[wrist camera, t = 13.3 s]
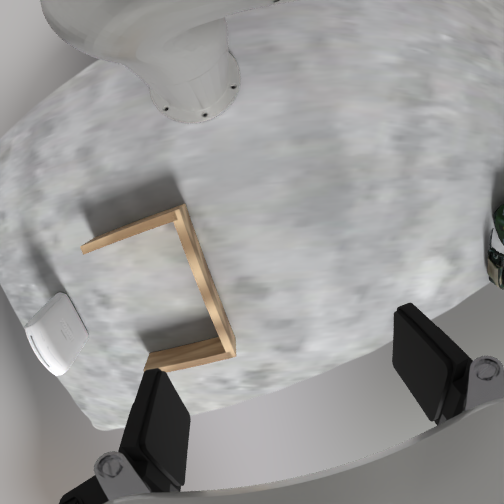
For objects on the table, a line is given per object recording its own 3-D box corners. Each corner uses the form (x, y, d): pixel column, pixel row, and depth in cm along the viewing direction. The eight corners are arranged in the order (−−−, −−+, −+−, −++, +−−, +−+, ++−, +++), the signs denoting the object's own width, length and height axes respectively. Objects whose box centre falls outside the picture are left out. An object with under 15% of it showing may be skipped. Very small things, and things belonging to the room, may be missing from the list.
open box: (94, 237, 41) (80, 246, 36) (185, 203, 40) (179, 209, 36) (152, 358, 48) (146, 375, 43) (235, 338, 47) (236, 356, 43)
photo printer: (93, 338, 46) (66, 380, 34) (77, 342, 46) (49, 382, 34) (67, 288, 43) (30, 324, 31) (51, 294, 43) (14, 328, 31)
